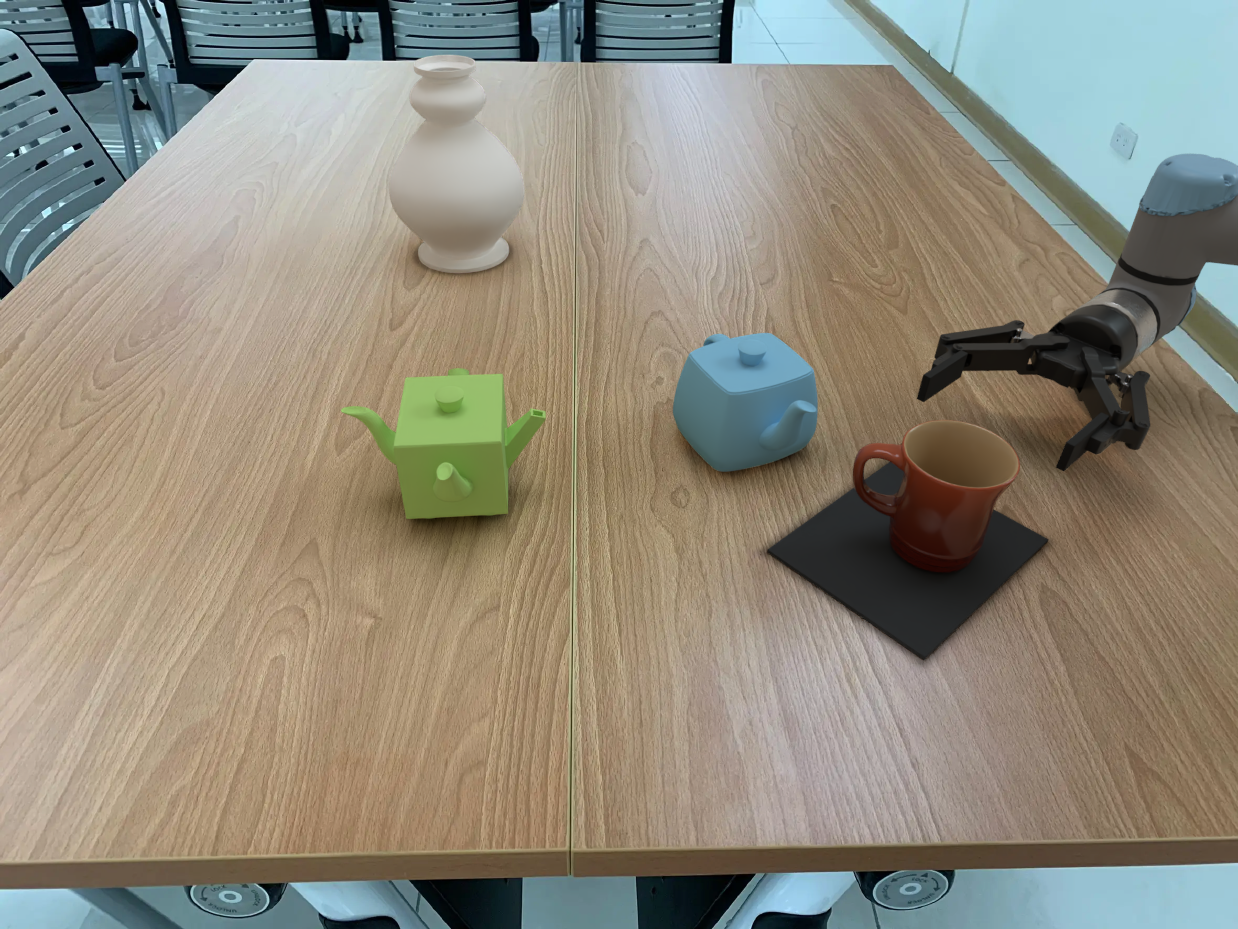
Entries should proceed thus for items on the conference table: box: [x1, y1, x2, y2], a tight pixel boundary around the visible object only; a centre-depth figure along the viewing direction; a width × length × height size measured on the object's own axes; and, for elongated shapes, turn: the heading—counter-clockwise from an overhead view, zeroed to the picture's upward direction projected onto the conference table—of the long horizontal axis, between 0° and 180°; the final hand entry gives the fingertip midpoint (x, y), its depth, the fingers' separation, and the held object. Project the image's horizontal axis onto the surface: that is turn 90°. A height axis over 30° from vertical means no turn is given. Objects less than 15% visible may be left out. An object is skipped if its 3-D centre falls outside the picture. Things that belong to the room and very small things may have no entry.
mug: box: [852, 419, 1021, 573], centre depth 76 cm, size 13×9×11 cm
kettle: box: [340, 367, 547, 520], centre depth 81 cm, size 15×14×11 cm
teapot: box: [672, 332, 819, 473], centre depth 86 cm, size 12×18×12 cm
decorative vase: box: [388, 54, 526, 274], centre depth 116 cm, size 18×18×25 cm
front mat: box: [766, 461, 1049, 661], centre depth 79 cm, size 16×20×1 cm
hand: (990, 421), depth 78 cm, fingers open, 13 cm apart
